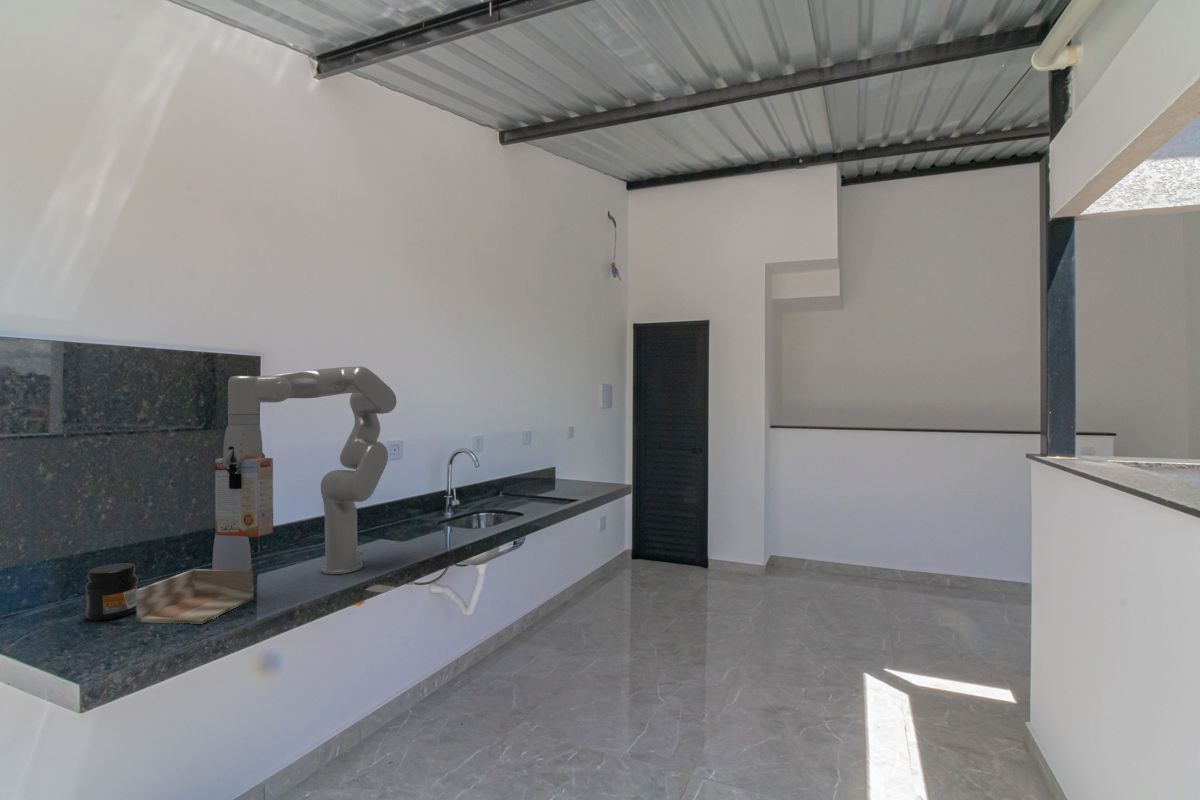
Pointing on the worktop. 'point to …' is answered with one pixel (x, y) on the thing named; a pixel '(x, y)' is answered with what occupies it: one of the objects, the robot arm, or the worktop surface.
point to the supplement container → (111, 592)
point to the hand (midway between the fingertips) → (244, 486)
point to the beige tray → (194, 596)
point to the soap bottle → (231, 553)
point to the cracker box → (245, 499)
